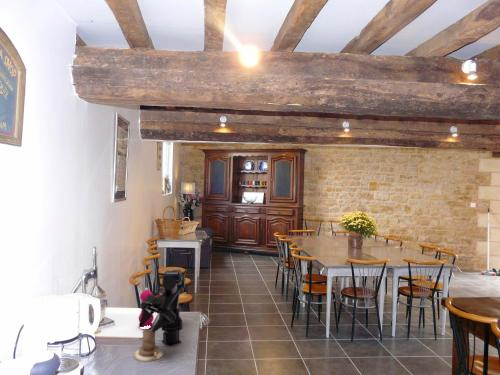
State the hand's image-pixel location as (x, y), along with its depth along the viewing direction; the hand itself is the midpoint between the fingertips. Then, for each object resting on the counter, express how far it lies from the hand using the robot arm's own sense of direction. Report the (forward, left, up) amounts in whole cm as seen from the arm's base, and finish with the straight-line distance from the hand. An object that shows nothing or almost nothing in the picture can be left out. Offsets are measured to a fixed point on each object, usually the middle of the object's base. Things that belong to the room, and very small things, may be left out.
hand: (146, 328), depth 172 cm
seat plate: (-1, 0, -12) cm, 12 cm away
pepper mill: (-16, -30, -12) cm, 36 cm away
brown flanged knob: (-2, 0, -10) cm, 11 cm away
